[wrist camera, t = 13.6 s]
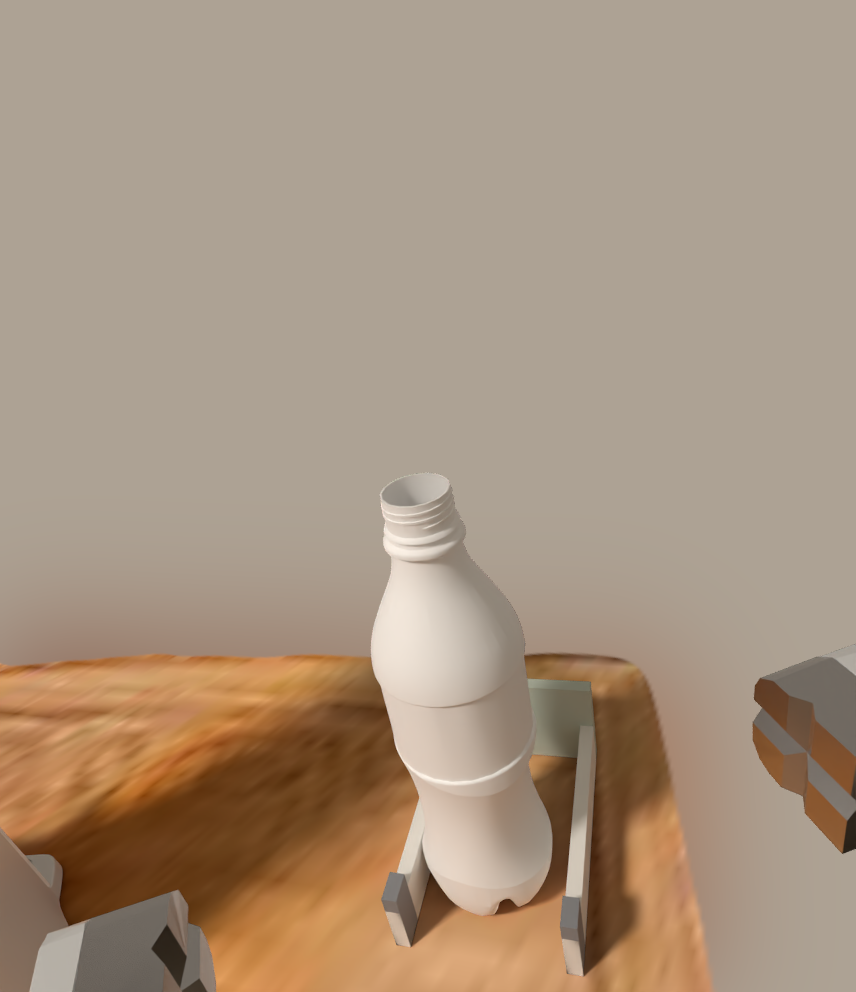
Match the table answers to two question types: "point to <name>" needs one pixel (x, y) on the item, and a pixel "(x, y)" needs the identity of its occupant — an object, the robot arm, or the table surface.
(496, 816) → the water bottle
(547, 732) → the bay
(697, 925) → the table surface
